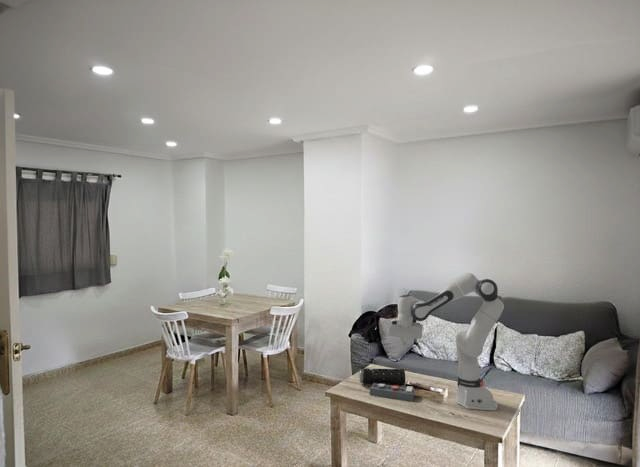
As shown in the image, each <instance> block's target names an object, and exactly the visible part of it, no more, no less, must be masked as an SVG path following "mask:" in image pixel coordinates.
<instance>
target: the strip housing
mask: <svg viewBox="0 0 640 467" xmlns="http://www.w3.org/2000/svg"><path fill="white" fill-rule="evenodd" d="M378 385H379V384H377V383H373V385H370V387H369V395H370V396H375V397H381V398H388V399H393V400H401V401H407V402H413V401H414V398H415V396H414V394H415V393H416V389H415V388H413V389H412V392H406V389H407V386H406V387H404V386H399V388H398V389H392V386H393V385H385V386H384V387H378ZM415 395H416V394H415Z"/></svg>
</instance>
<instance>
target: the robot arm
mask: <svg viewBox="0 0 640 467" xmlns="http://www.w3.org/2000/svg"><path fill="white" fill-rule="evenodd" d="M498 290H499V288H498V285H497V283H496V282H495V281H494V280H492V279H488V278H486V279H485V278H484V279H480V280H479V279H478V277H477V276H475V275H474V274H473V273H471V272H468V273H465V274H462V275H460V276H457V277H455V278H454V279H451V280H450V281H449V282H447V283H446V284H445V285H444V286H443V288H442V290H441V291H440V292H439V294H438V295H436V296H434V297H433V298H431V299H429V300H427V301H424V300H421V299H418V298H416V297H414V296H413V295H411V294H403V295H400V296H399V297H398V299H397V300H398V301H397V312H398V314H397V317H395V318H392V319H391V320H390V323H389V324H390V325H389V326H388V331H387V332H388V336H389V337H396V338H400V340H401V343H402V345H404V346H407V345H409V341H410V339H418V340H419V339H420V340H421V339H422V338H423V329H424V327H423V326H424V325H423V324H422V323H421V322H423V321H425V320H426V319H428V317H429V316H430V315H431V313H433V312H434V311H436V310H438V309H439V308H440V309H441V307H443V306H445V305H447V304H448V303H451V302H453V301H456V300H458V299H459V300H460V298H463V297H465V296H467V295H469V294H470V293H473V292H474V293H475V294H476V295H478V297H480V298H481V299H483V301H482V305H481V306H480V307H479V309H478V310H477V312H476V314H475V315H474V317H473V318H472V319H471V321H470V326H469V328H468V330H462V331H459V332H457V334H455V346H456V355H457V362H458V365H457V368H458V369H457V371H458V372H457V374H458V375H457V379H456V381H457V382H456V385H457V391H456V392H457V393H456V397H455V400H454V402H456V403H457V404H458V405H460V406H463V407H464V408H465V409H468V410H469V409H470V410H479V411H480V410H481V411H482V410H483V411H494V412H495V411H497V409H498V408H499V403H498V402H497V400H495V398H494V396H493V394H492V392H491V390H489V389H488V388H486V387H485V386H484V381H483V379H482V378H480V364H479V360H478V357H480V356H481V355H482V353H483V350H484V346H485V344H486V341H487V338H488V336H489V334H490V332H491V331H492V329H493V327H494V326H495V325H496V323H497V322H498V321H499V319H500V317H501V315H502V314H503V310H504V308H505V304H504V303H503V301H502V300H501V299H500V298H499V297H498V294H499V293H498V292H499V291H498ZM414 320H415V321H414ZM404 338H405V339H406V340H404Z"/></svg>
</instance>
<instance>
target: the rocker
mask: <svg viewBox="0 0 640 467" xmlns="http://www.w3.org/2000/svg"><path fill="white" fill-rule="evenodd" d="M406 388H407V389H406V392H412V389H414V386H408V385H407V386H406Z"/></svg>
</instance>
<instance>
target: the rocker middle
mask: <svg viewBox="0 0 640 467" xmlns="http://www.w3.org/2000/svg"><path fill="white" fill-rule="evenodd" d="M391 386H392V389H398V388H399V387H400V385H391Z"/></svg>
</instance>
